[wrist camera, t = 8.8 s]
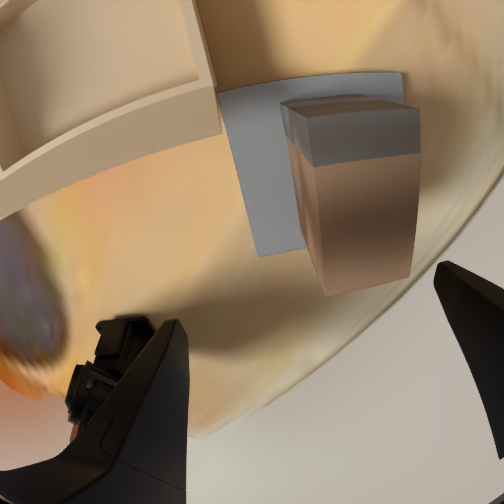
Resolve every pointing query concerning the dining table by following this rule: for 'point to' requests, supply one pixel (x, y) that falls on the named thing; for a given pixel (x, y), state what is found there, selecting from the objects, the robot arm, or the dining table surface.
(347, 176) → the walnut block
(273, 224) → the felt pad
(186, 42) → the beige tray
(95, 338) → the dining table surface
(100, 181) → the dining table surface
